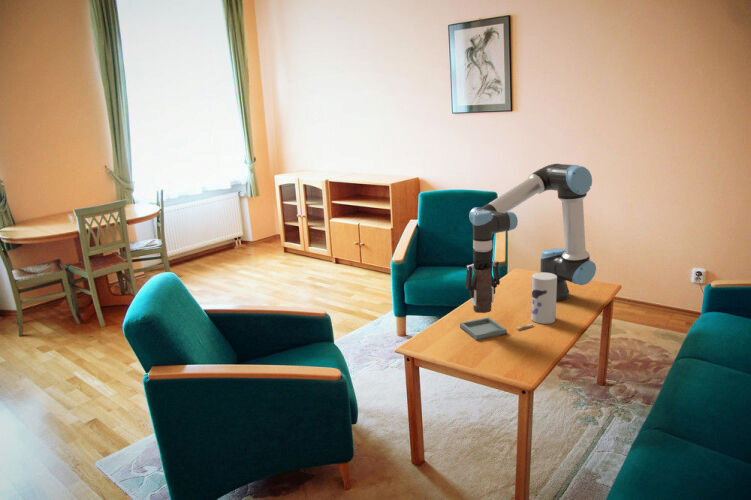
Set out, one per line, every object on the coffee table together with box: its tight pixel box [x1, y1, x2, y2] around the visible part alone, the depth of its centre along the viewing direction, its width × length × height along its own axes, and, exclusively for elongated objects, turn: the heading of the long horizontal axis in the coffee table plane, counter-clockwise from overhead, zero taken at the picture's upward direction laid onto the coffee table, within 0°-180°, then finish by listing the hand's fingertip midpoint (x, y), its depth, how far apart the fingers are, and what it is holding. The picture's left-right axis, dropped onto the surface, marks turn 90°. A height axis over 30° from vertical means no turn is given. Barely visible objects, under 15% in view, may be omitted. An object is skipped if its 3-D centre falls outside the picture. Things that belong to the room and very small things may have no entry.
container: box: [530, 272, 557, 325], centre depth 225 cm, size 10×10×20 cm
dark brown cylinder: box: [472, 265, 493, 314], centre depth 215 cm, size 8×7×20 cm
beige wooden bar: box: [515, 323, 534, 331], centre depth 220 cm, size 8×1×1 cm, turn 115°
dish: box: [459, 316, 508, 341], centre depth 219 cm, size 14×14×2 cm
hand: (482, 302), depth 216 cm, fingers closed on dark brown cylinder, 7 cm apart
